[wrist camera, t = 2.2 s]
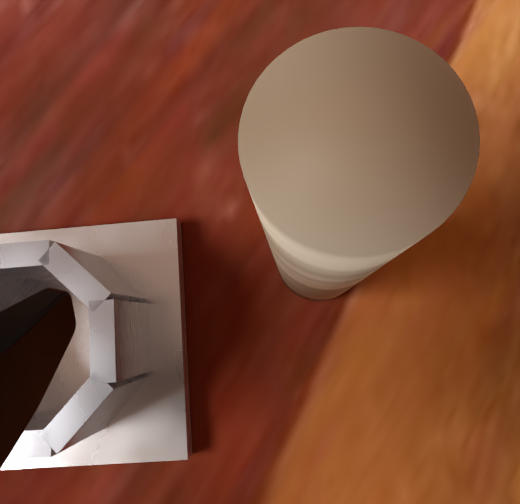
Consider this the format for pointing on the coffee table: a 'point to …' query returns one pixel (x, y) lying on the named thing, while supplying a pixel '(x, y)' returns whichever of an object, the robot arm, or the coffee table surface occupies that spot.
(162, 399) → the cup bracket
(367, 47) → the wooden post
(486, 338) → the coffee table surface
